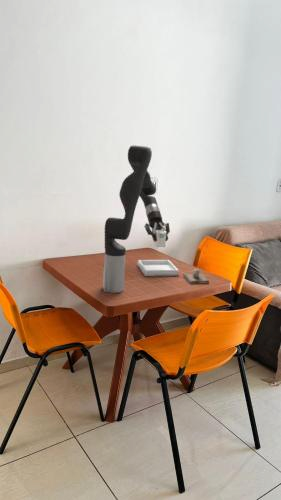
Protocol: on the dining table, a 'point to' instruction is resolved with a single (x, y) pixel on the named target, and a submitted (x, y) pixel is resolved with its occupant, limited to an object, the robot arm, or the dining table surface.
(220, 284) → the dining table surface
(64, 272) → the dining table surface
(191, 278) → the stake base
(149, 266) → the tray
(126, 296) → the dining table surface
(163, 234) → the sleeve
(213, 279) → the dining table surface
